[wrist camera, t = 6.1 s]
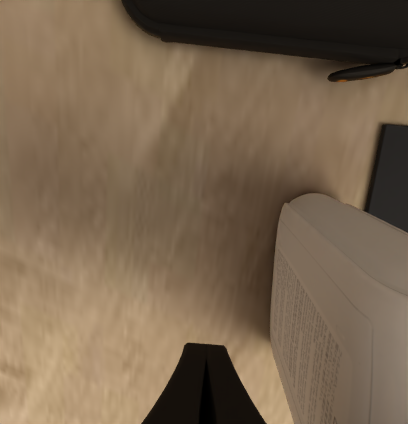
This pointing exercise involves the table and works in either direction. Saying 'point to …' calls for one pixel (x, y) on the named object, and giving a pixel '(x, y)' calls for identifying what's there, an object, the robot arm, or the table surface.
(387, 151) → the desk pad
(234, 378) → the robot arm
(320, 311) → the photo printer
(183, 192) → the table surface
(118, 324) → the table surface
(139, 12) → the carrying case
